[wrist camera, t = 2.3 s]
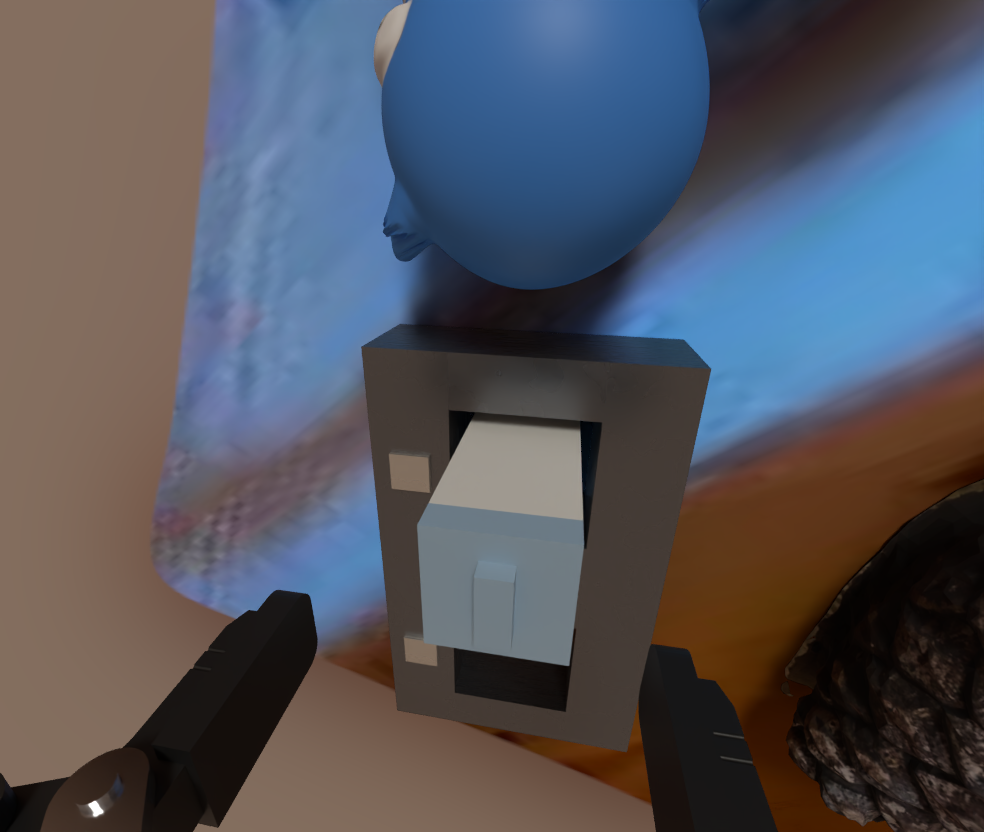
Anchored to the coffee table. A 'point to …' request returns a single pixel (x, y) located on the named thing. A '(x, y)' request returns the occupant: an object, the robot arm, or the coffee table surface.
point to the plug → (505, 540)
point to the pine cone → (902, 680)
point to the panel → (606, 509)
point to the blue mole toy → (538, 129)
